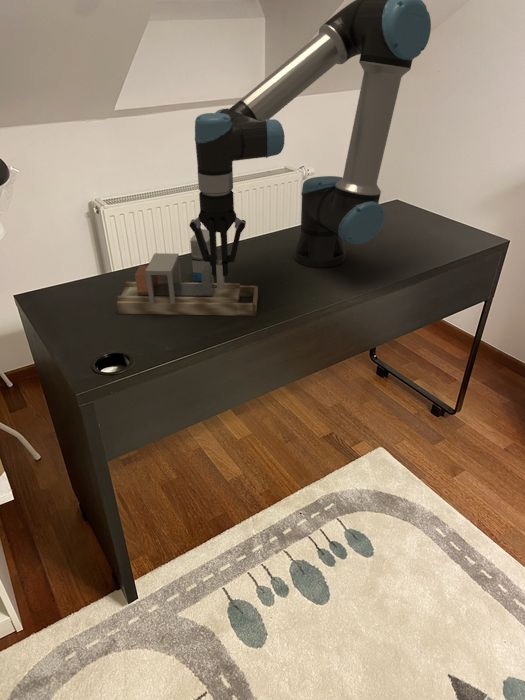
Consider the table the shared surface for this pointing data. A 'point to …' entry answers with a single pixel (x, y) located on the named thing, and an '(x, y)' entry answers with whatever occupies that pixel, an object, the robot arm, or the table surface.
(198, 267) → the ink box
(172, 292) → the tunnel
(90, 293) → the table surface
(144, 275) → the sled
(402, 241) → the table surface
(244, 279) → the table surface
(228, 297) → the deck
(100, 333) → the table surface
